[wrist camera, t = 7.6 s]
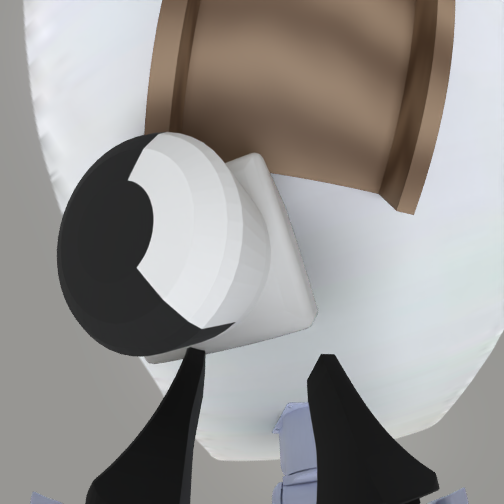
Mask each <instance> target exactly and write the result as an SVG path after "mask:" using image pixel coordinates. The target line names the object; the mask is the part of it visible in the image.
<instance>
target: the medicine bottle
mask: <svg viewBox="0 0 504 504" xmlns="http://www.w3.org/2000/svg"><path fill="white" fill-rule="evenodd" d="M57 267H58V275H59V280H60V285H61V289H62V292H63V295H64V298H65V300H66V302H67V304H68V306H69V309H70V310H71V312H72V314H73V315H74V317H75V318H76V320H77V321H78V322H79V324H80V325H81V326H82V327H83V329H84V330H85V331H86V332H87V333H88V334H89V335H90V336H91V337H92V338H93V339H95V340H96V341H97V342H98V343H99V344H101V345H103V346H104V347H106V348H108V349H109V350H112V351H115V352H117V353H120V354H124V355H129V356H144V357H145V359H146V361H147V362H149V363H152V364H158V363H164V362H170V361H175V360H180V359H184V356H185V353H186V350H187V348H189V347H192V348H196V349H200V350H204V351H205V354H210V353H215V352H219V351H224V350H228V349H232V348H236V347H241V346H245V345H249V344H253V343H257V342H261V341H265V340H268V339H272V338H276V337H279V336H283V335H287V334H290V333H294V332H297V331H301V330H304V329H307V328H309V327H310V326H312V324H313V322H314V320H315V318H316V316H317V314H318V308H317V305H316V301H315V298H314V295H313V291H312V288H311V285H310V282H309V278H308V275H307V272H306V269H305V265H304V262H303V259H302V256H301V253H300V250H299V247H298V244H297V240H296V237H295V234H294V231H293V228H292V225H291V222H290V219H289V216H288V213H287V210H286V208H285V205H284V203H283V201H282V198H281V196H280V194H279V192H278V190H277V187H276V185H275V183H274V181H273V179H272V176H271V174H270V172H269V170H268V168H267V166H266V163H265V161H264V159H263V157H262V156H261V155H260V154H258V153H250V154H247V155H245V156H242V157H240V158H237V159H234V160H232V161H229V162H227V163H224V162H223V160H222V159H221V158H220V157H219V156H218V155H217V154H216V153H215V152H214V151H213V150H212V149H211V148H210V147H208V146H207V145H206V144H204V143H203V142H201V141H199V140H197V139H195V138H193V137H191V136H187V135H184V134H180V133H172V132H159V133H152V134H147V135H142V136H138V137H135V138H132V139H130V140H127V141H125V142H123V143H121V144H119V145H117V146H115V147H114V148H112V149H111V150H109V151H108V152H107V153H105V154H104V155H103V156H102V157H101V158H99V159H98V160H97V161H96V162H95V163H94V164H93V165H92V166H91V167H90V168H89V170H88V171H87V172H86V173H85V175H84V176H83V177H82V179H81V180H80V182H79V183H78V185H77V186H76V188H75V190H74V191H73V193H72V195H71V197H70V200H69V202H68V204H67V207H66V209H65V212H64V215H63V218H62V222H61V226H60V231H59V236H58V246H57Z"/></svg>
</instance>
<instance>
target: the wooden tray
mask: <svg viewBox="0 0 504 504" xmlns="http://www.w3.org/2000/svg"><path fill="white" fill-rule="evenodd" d="M454 24H455V0H162V4H161V9H160V14H159V19H158V24H157V30H156V35H155V41H154V48H153V54H152V61H151V69H150V77H149V86H148V95H147V106H146V118H145V134H144V135H147V134H152V133H159V132H172V133H180V134H184V135H187V136H191V137H193V138H195V139H197V140H199V141H201V142H203V143H204V144H206V145H207V146H208V147H210V148H211V149H212V150H213V151H214V152H215V153H216V154H217V155H218V156H219V157H220V158H221V159H222V160H223V162H224V163H227V162H229V161H232V160H234V159H237V158H240V157H242V156H245V155H247V154H250V153H258V154H260V155H261V156H262V157H263V159H264V161H265V163H266V166H267V168H268V170H269V172H270V173H274V174H281V175H287V176H293V177H299V178H304V179H310V180H315V181H321V182H326V183H331V184H336V185H341V186H346V187H350V188H355V189H360V190H364V191H369V192H373V193H377V194H379V195H380V196H381V197H382V198H384V199H385V200H386V201H387V202H388V203H389V204H390V205H391V206H392V207H393V208H394V209H395V210H396V211H399V212H403V213H408V214H412V215H414V213H415V210H416V207H417V204H418V201H419V198H420V195H421V192H422V189H423V186H424V183H425V179H426V176H427V173H428V169H429V166H430V163H431V159H432V155H433V152H434V148H435V144H436V140H437V136H438V132H439V128H440V123H441V119H442V114H443V109H444V104H445V99H446V93H447V87H448V81H449V74H450V67H451V59H452V50H453V39H454Z"/></svg>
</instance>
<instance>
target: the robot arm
mask: <svg viewBox="0 0 504 504" xmlns="http://www.w3.org/2000/svg"><path fill="white" fill-rule="evenodd" d="M204 377H205V351H204V350H200V349H196V348H192V347H189V348H187V350H186V353H185V356H184V359H183V361H182V364H181V366H180V368H179V370H178V372H177V375H176V377H175V378H174V380H173V382H172V384H171V386H170V388H169V390H168V392H167V393H166V395H165V397H164V398H163V400H162V402H161V403H160V405H159V407H158V408H157V410H156V411H155V413H154V414H153V416H152V417H151V419H150V420H149V421H148V423H147V424H146V426H145V427H144V428H143V430H142V431H141V432H140V433H139V435H138V436H137V437H136V438H135V440H134V441H133V442H132V443H131V444H130V445H129V447H128V448H127V449H126V450H125V451H124V452H123V453H122V454H121V455H120V456H119V457H118V458H117V459H116V460H115V461H114V462H113V463H112V464H111V465H110V466H109V467H108V468H107V469H106V470H105V471H104V472H103V473H102V474H100V475H99V476H98V477H97V478H96V479H95V480H94V481H93V482H92V485H91V486H90V488H89V490H88V494H87V497H86V503H85V504H190V495H191V474H192V460H193V448H194V441H195V435H196V430H197V424H198V419H199V414H200V409H201V403H202V398H203V388H204ZM307 391H308V403H296V402H291V403H288V404H287V405H286V407H285V409H284V411H283V413H282V415H281V416H280V418H279V420H278V422H277V424H276V426H275V427H274V429H273V431H272V433H279V441H280V460H281V469H282V472H283V474H284V475H285V476H284V477H283V482H279V483H278V484H277V486H276V487H275V488H274V490H273V495H272V504H420V499H419V498H421V497H423V496H426V495H428V494H431V493H433V492H435V491H437V490H438V489H439V484H438V481H437V477H436V473H435V472H433V471H432V470H430V469H429V468H427V467H426V466H424V465H423V464H422V463H420V462H419V461H418V460H416V459H415V458H414V457H413V456H411V455H410V454H409V453H408V452H407V451H406V450H405V449H403V447H401V446H400V445H399V444H398V443H397V442H396V441H395V440H394V439H393V438H392V437H391V436H390V435H389V433H388V432H387V431H386V430H385V429H384V428H383V427H382V425H381V424H380V423H379V422H378V421H377V419H376V418H375V417H374V415H373V414H372V413H371V411H370V410H369V409H368V407H367V406H366V404H365V403H364V401H363V400H362V398H361V397H360V395H359V394H358V392H357V391H356V389H355V388H354V386H353V384H352V383H351V381H350V380H349V378H348V376H347V375H346V373H345V371H344V369H343V368H342V366H341V364H340V363H339V361H338V359H337V357H336V356H335V355H334V354H321V355H320V357H319V359H318V361H317V363H316V365H315V366H314V368H313V370H312V372H311V374H310V376H309V378H308V379H307ZM289 406H292V407H289ZM276 429H278V430H276ZM30 504H64V503H61V502H59V501H56V500H54V499H50V498H47V497H45V496H43V495H41V494H39V493H36V492H32V496H31V501H30ZM427 504H469V503H468V498H467V494H466V490H465V488H462V489H459V490H457V491H455V492H453V493H451V494H449V495H447V496H444V497H441V498H439V499H436V500H434V501H431V502H429V503H427Z"/></svg>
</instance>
